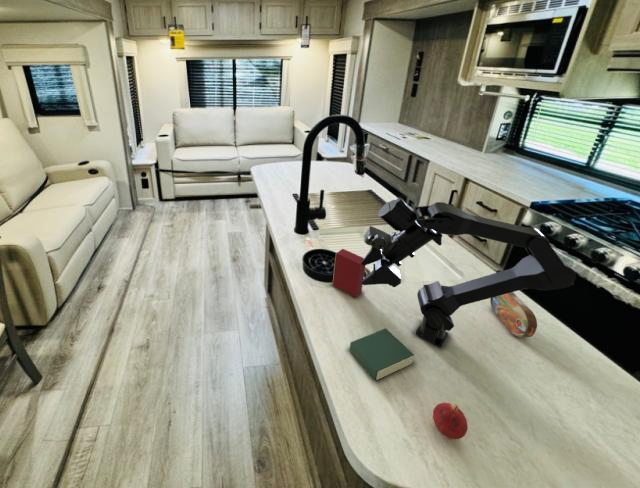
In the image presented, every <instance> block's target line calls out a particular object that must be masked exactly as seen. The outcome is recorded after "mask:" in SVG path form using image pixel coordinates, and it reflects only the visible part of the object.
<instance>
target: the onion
mask: <svg viewBox="0 0 640 488" xmlns="http://www.w3.org/2000/svg"><path fill="white" fill-rule="evenodd" d="M432 420H433V423H434V426H435V427H436V428H437V430H438V432H440V434H442V436H444V437H446V438H447V439H450V440H461V439H462V438H464V437H465V436H466V435H467V432H468V429H469V428H468V427H469V426H468V419H467V418H466V415H465V413H464V412H463V410H461V409H460V408H459V406H458V405H457V404H456V403H450V402H440V403H437V404H436V406H435V407H434V408H433V410H432Z"/></svg>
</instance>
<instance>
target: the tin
mask: <svg viewBox="0 0 640 488" xmlns="http://www.w3.org/2000/svg"><path fill="white" fill-rule="evenodd" d="M489 299H490V300H489V301H490V308H491V309H492V312H493V313H494V314H495V316H496V317H497V318H498V320H500V321H501V322H502V324H503V325H504V326H505V328H506V329H507V331H509V332H510V334H512V335H513V336H514V337H518V338H519V337H522V338H531V337H533V336H534V335H535V333H536V331H537V329H538V321H537V320H538V319H537V317H536V316H535V313H534V312H533V310H532V309H531V308H530V307H529V306H528V305H527V304H526V303H525V302H523V300H522V299H521V298H519V296H518V295H517V294H516V293H515V292H511V293H507V294H503V295H500V296H496V297H492V298H489Z"/></svg>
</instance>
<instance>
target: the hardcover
mask: <svg viewBox="0 0 640 488" xmlns="http://www.w3.org/2000/svg"><path fill="white" fill-rule="evenodd" d="M349 352H350V353H351V355H353V357H354V358H355V359H356V361H358V363H359V364H360V365H361V367H363V368H364V370H365V371H366V372H367V373H368V375H370V377H371V378H372V379H373V380H374V381H379V380H380V379H382V378H384V377H386V376H388V375H390V374H393V373H394V372H397V371H399V370H401V369H403V368H405V367H408V366H410V365H412V363H413V359H414V356H415V354H414V353H413V352H412V350H410V349H409V348H408V347H407V346H406V345H404V344H403V343H402V342H401V341H400V340H399V339H398V338H397V337H396V336H395V335H394V334H393V333H392V332H391V331H389V329H387V328H386V327H385V328H383V329H381V330H378V331H375V332H373V333H371V334H368V335H365V336H363V337H361V338H358V339H356V340H353V341H350V346H349Z"/></svg>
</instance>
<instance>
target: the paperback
mask: <svg viewBox="0 0 640 488" xmlns="http://www.w3.org/2000/svg"><path fill="white" fill-rule="evenodd" d="M364 258H365V257H363V256H360V255H358V254H356V253H353V252H352V251H349V250H347V249H345V248H341V250H338V251H337V252H336V253H335V257H334V267H333V277H332V286H333V287H334V288H336V289H338V290H340V291H342V292H343V293H346V294H348V295H349V296H351V297H353V298H355V299H356V298H357V297H358V296H359V295H360V294H362V291H363V286H364V285H363V284H362V283H361V281H362V280H363V279H364V278H365V271H366V265H364V266H363V265H362V264H361V262H362V260H363V259H364Z"/></svg>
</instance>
